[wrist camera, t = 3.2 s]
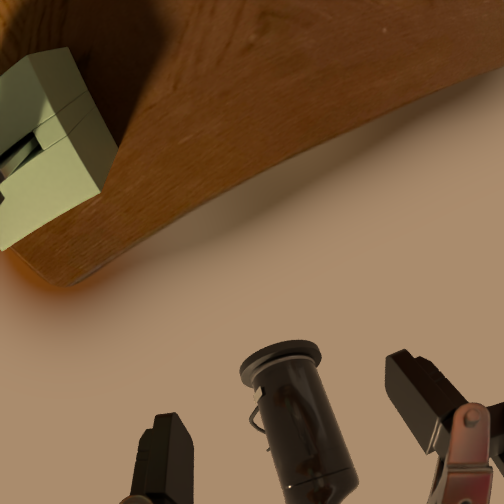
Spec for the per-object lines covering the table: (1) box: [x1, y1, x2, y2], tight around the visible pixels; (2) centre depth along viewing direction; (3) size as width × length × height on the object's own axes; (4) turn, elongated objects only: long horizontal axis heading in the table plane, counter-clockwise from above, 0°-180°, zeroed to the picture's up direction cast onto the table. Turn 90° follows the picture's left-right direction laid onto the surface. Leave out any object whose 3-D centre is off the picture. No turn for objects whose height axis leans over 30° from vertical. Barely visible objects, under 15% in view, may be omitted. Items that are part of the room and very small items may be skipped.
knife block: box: [0, 47, 118, 251], centre depth 13 cm, size 8×8×6 cm
